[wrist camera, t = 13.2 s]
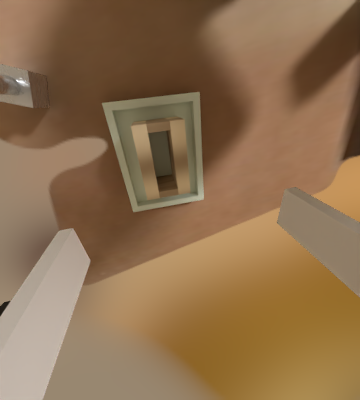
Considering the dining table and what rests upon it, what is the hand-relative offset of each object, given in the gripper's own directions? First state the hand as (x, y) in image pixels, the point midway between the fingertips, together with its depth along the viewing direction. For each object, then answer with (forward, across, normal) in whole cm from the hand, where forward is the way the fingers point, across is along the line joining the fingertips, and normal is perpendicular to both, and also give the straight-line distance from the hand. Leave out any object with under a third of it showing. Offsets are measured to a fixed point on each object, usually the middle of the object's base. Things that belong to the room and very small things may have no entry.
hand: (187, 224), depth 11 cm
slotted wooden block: (+20, 0, 0) cm, 20 cm away
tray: (+21, 0, -1) cm, 21 cm away
